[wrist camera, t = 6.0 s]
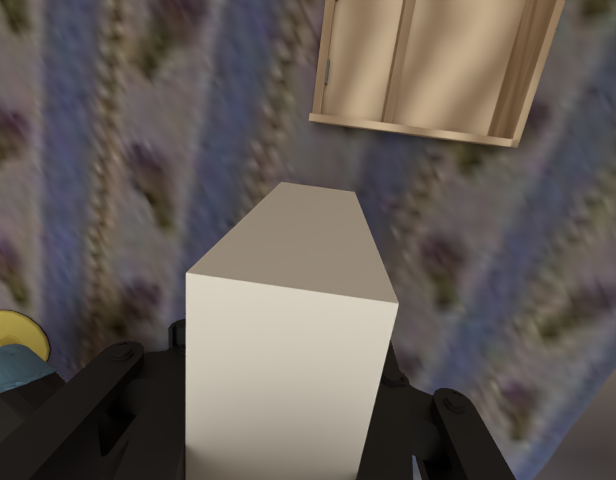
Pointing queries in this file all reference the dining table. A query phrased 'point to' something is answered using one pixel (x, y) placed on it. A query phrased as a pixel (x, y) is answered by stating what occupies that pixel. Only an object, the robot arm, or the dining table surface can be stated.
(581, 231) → the dining table surface
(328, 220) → the plain off-white rectangular block
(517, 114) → the cabinet carcass
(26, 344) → the candle
